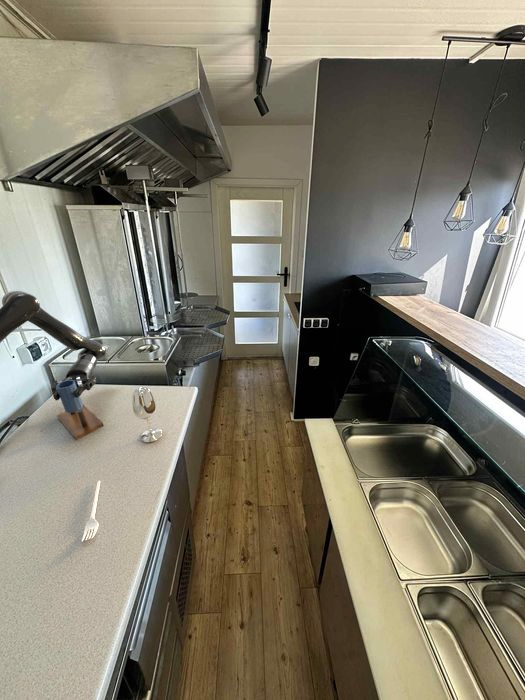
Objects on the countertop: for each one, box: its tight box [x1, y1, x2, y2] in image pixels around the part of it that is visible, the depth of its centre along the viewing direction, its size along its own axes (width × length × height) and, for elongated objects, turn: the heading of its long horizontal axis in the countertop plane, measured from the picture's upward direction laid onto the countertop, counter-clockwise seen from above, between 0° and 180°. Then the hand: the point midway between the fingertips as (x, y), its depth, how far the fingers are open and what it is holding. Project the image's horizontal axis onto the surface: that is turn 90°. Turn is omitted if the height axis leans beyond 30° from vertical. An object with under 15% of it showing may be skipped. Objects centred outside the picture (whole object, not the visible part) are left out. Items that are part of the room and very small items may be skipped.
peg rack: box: [56, 404, 105, 441], centre depth 114 cm, size 10×20×8 cm, turn 50°
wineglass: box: [131, 386, 163, 443], centre depth 104 cm, size 8×8×20 cm
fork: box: [81, 479, 101, 542], centre depth 81 cm, size 3×20×2 cm, turn 20°
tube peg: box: [56, 380, 84, 413], centre depth 99 cm, size 5×5×10 cm
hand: (66, 396), depth 96 cm, fingers closed on tube peg, 5 cm apart
